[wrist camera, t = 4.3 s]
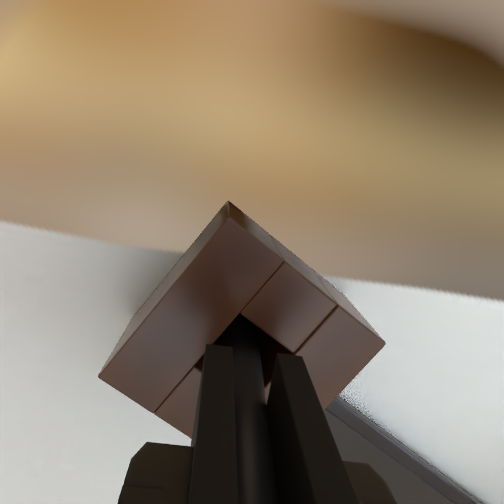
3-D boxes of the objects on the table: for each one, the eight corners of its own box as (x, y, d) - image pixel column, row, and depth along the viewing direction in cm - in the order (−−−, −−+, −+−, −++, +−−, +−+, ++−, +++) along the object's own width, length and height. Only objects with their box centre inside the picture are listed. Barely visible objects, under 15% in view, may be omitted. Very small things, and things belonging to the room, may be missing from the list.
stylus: (217, 309, 19) (183, 787, 5) (237, 287, 18) (252, 734, 5) (241, 326, 19) (264, 816, 6) (260, 305, 19) (333, 769, 5)
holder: (130, 319, 18) (96, 377, 14) (227, 200, 17) (228, 215, 13) (249, 402, 20) (256, 482, 15) (345, 295, 19) (387, 344, 14)
